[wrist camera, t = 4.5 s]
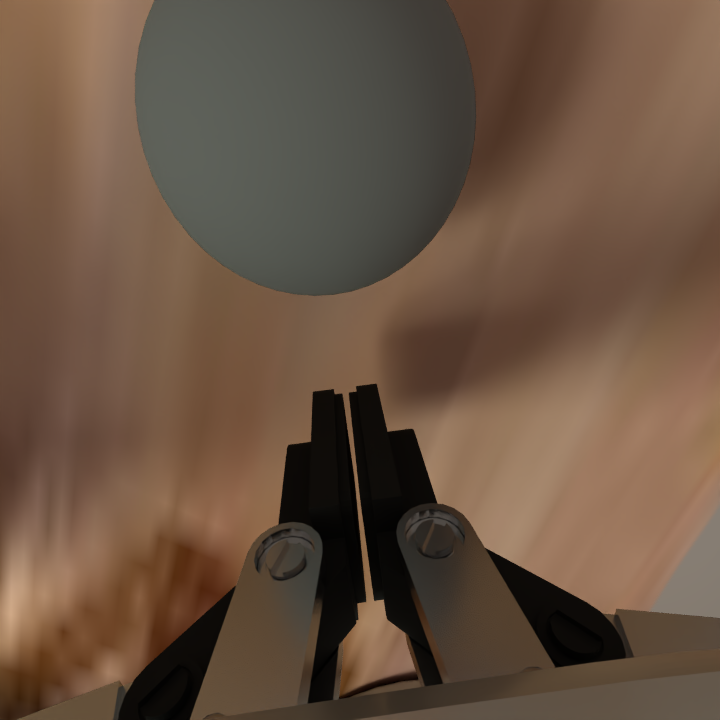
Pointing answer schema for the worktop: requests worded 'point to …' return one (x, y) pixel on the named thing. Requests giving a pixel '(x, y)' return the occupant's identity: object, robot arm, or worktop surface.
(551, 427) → the worktop surface
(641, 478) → the worktop surface
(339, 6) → the grey-green ball
